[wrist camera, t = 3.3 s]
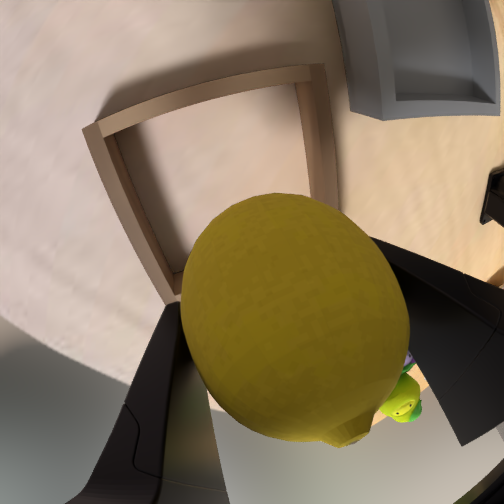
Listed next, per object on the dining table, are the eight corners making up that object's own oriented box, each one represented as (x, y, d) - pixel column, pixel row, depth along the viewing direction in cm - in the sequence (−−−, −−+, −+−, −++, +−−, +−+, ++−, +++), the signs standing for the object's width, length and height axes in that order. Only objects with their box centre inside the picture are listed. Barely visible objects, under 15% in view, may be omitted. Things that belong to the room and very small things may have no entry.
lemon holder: (305, 64, 12) (323, 63, 10) (325, 234, 19) (339, 251, 17) (93, 122, 11) (81, 129, 9) (166, 287, 18) (167, 308, 16)
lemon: (179, 153, 8) (223, 431, 2) (333, 169, 10) (508, 320, 3) (174, 289, 11) (206, 495, 5) (298, 285, 13) (384, 442, 6)
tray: (451, -35, 7) (477, -36, 4) (473, 106, 15) (499, 115, 13) (304, -84, 5) (328, -103, 3) (350, 111, 14) (382, 120, 12)
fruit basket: (396, 302, 27) (456, 381, 18) (407, 329, 32) (452, 392, 23) (312, 364, 29) (354, 450, 20) (339, 379, 34) (374, 446, 25)
